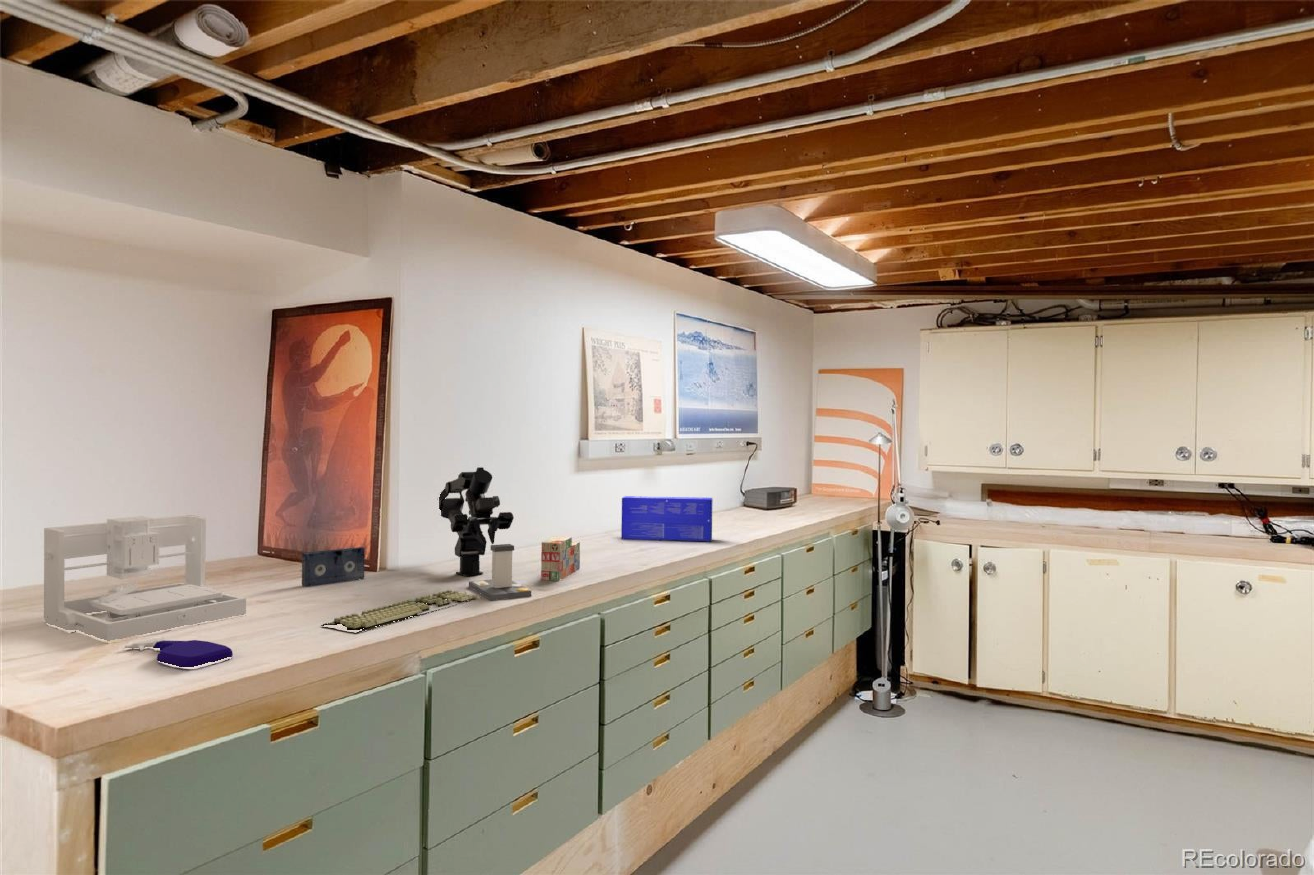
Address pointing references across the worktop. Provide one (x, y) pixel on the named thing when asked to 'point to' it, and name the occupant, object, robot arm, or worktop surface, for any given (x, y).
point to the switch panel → (499, 590)
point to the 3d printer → (127, 557)
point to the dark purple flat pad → (185, 651)
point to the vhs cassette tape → (332, 566)
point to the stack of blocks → (559, 558)
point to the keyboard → (398, 611)
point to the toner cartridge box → (666, 518)
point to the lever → (502, 565)
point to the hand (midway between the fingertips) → (488, 543)
